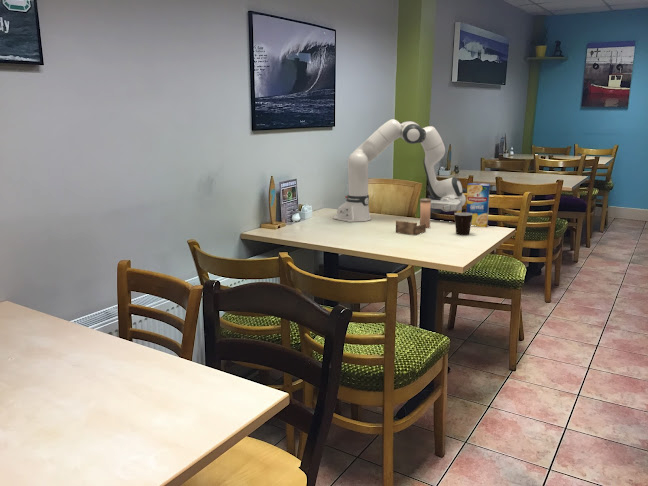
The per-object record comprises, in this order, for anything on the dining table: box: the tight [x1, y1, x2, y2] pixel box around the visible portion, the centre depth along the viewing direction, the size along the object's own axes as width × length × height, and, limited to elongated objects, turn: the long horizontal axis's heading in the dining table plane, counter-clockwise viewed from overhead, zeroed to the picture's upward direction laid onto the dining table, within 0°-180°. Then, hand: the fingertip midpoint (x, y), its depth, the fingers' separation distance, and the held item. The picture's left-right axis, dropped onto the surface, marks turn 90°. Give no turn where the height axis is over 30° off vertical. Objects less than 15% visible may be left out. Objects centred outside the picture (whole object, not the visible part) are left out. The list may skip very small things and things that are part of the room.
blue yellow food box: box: [465, 182, 491, 228], centre depth 286 cm, size 7×11×22 cm, turn 70°
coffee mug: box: [454, 212, 473, 236], centre depth 267 cm, size 12×9×10 cm
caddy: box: [395, 220, 427, 236], centre depth 274 cm, size 11×10×6 cm
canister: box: [419, 197, 432, 229], centre depth 284 cm, size 6×6×15 cm
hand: (435, 207), depth 292 cm, fingers open, 8 cm apart
